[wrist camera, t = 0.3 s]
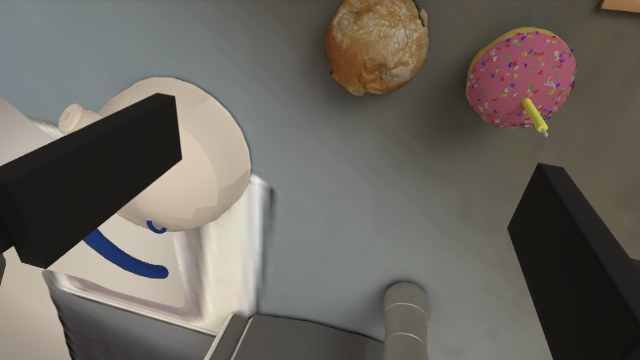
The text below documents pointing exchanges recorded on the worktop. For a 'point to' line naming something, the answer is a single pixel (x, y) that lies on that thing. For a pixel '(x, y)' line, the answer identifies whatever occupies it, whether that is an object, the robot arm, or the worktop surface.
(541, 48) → the cupcake
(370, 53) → the bread roll
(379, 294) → the worktop surface
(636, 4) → the light brown flat board
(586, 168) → the worktop surface
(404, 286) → the plastic bottle
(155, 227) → the kettle
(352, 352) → the grey folded panel
